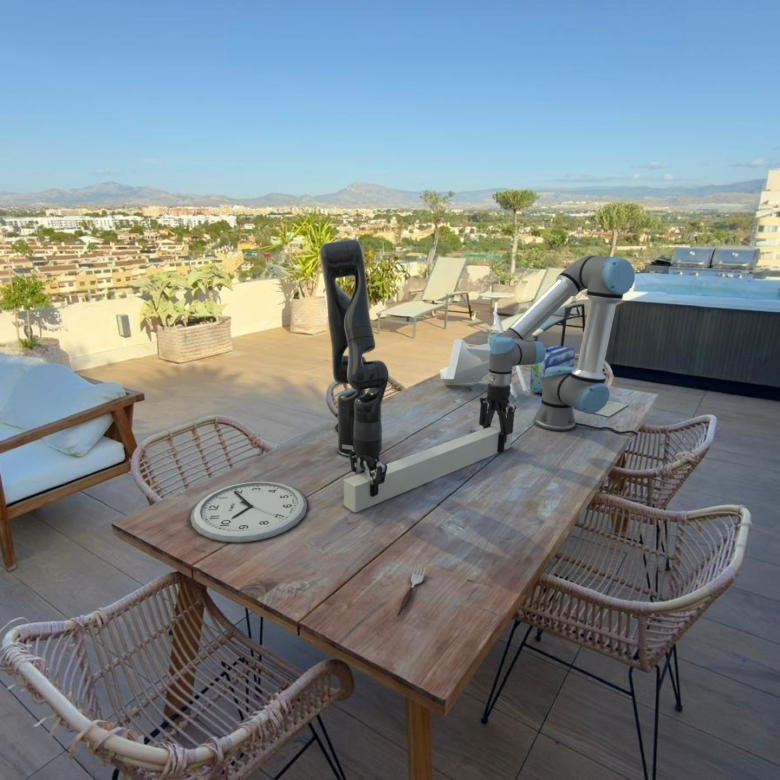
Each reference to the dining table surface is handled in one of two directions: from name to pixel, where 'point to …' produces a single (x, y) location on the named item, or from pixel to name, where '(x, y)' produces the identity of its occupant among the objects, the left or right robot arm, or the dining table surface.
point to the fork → (415, 580)
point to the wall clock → (248, 512)
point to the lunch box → (550, 365)
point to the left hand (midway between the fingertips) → (367, 491)
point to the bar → (423, 467)
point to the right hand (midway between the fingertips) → (493, 448)
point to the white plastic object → (474, 363)
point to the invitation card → (611, 408)
